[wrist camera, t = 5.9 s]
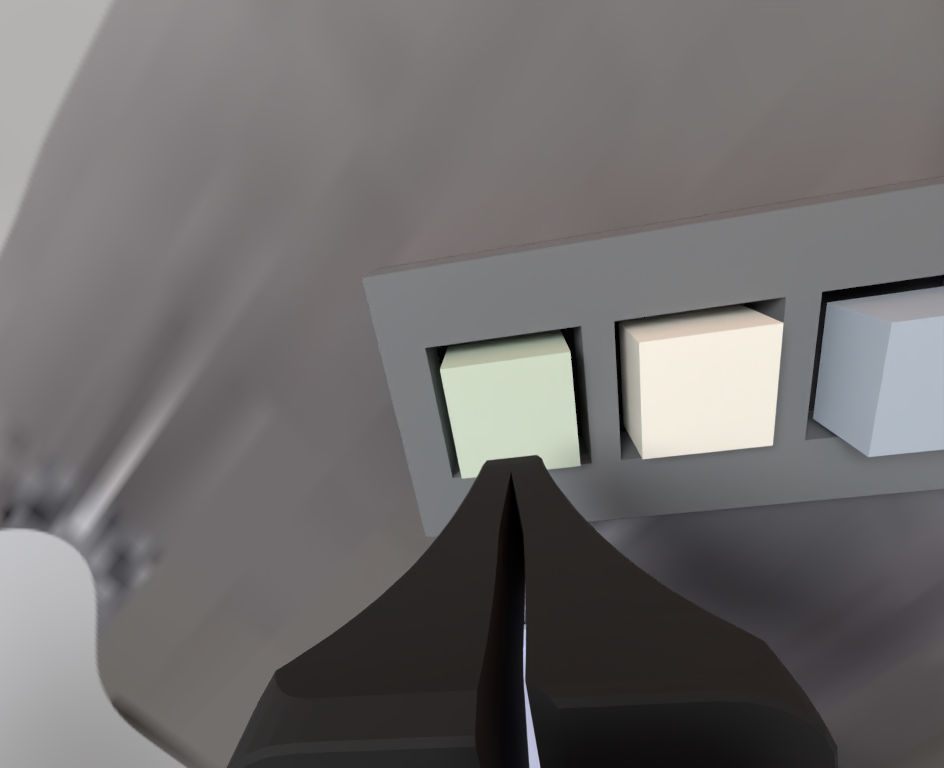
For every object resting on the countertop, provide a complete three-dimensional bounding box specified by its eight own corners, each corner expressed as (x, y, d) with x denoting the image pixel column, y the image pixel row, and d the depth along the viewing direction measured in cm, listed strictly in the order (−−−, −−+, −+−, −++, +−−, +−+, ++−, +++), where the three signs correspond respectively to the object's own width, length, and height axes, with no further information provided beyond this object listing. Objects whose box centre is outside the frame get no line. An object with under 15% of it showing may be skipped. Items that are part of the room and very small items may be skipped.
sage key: (569, 430, 17) (580, 466, 15) (466, 442, 18) (461, 478, 16) (560, 329, 16) (570, 351, 14) (448, 345, 16) (439, 369, 14)
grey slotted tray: (1131, 434, 17) (1211, 463, 15) (432, 505, 19) (426, 536, 18) (1258, 124, 13) (1384, 111, 11) (377, 269, 16) (361, 277, 14)
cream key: (735, 411, 17) (773, 445, 14) (623, 424, 17) (642, 459, 15) (740, 304, 15) (783, 323, 13) (618, 321, 16) (638, 342, 13)
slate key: (943, 404, 15) (1024, 441, 13) (812, 418, 15) (868, 457, 13) (971, 282, 14) (1069, 299, 11) (827, 302, 14) (892, 322, 12)
